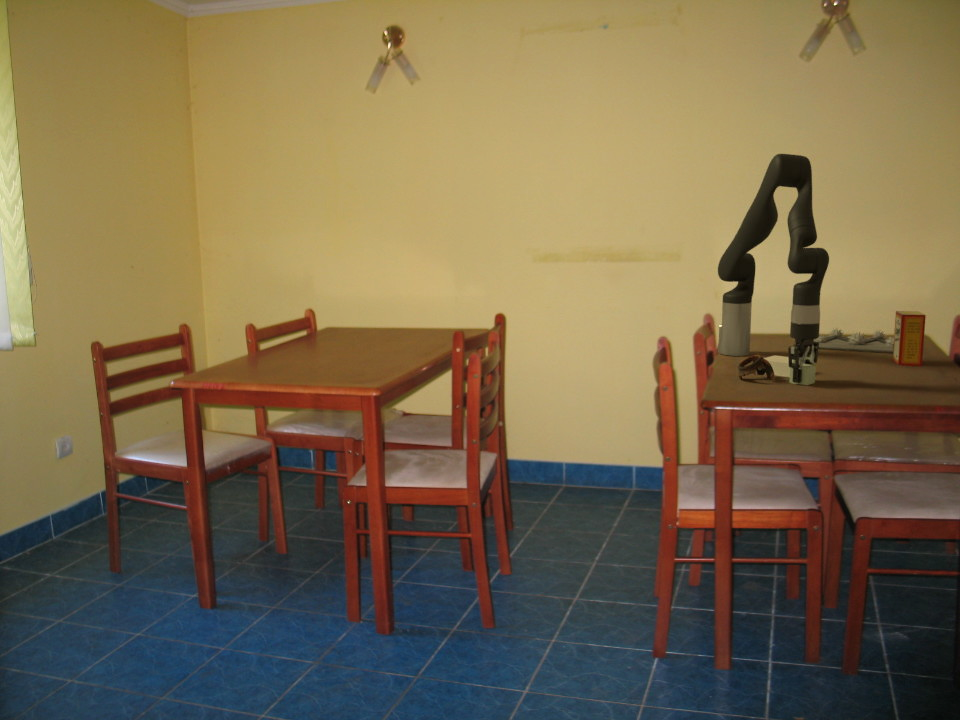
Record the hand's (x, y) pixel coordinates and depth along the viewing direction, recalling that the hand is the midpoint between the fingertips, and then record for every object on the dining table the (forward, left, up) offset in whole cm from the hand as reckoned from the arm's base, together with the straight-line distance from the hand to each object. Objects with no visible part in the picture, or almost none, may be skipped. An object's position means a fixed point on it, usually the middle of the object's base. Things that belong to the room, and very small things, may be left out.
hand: (802, 380), depth 249 cm
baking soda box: (+10, +50, -1) cm, 51 cm away
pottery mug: (-11, -4, -1) cm, 12 cm away
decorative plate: (-14, +72, -1) cm, 73 cm away
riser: (-11, +10, -1) cm, 15 cm away
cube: (0, 0, -1) cm, 1 cm away
